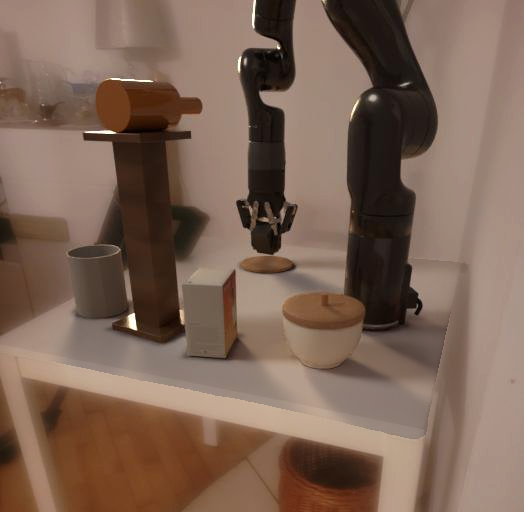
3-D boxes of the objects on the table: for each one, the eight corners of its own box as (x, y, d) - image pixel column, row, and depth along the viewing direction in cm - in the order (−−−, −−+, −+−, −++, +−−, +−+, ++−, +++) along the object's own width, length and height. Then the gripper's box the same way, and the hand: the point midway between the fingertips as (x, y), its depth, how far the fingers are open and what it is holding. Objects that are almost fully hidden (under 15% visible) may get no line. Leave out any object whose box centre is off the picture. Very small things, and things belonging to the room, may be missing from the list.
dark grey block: (258, 220, 103) (250, 233, 102) (275, 222, 101) (266, 235, 100) (265, 240, 108) (257, 252, 106) (281, 242, 106) (273, 255, 104)
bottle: (182, 127, 76) (179, 84, 74) (213, 128, 74) (211, 83, 71) (99, 132, 63) (91, 79, 61) (133, 133, 61) (127, 78, 58)
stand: (155, 308, 84) (136, 129, 71) (202, 320, 79) (191, 130, 67) (112, 329, 76) (82, 132, 63) (161, 343, 71) (139, 134, 59)
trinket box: (366, 378, 62) (373, 309, 58) (282, 377, 62) (283, 308, 58) (354, 341, 72) (359, 280, 67) (281, 341, 72) (281, 280, 68)
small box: (225, 359, 67) (222, 286, 62) (186, 356, 68) (180, 283, 63) (238, 335, 74) (236, 267, 69) (202, 332, 75) (198, 265, 70)
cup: (86, 300, 87) (76, 244, 83) (132, 299, 87) (125, 244, 83) (70, 318, 80) (58, 258, 75) (120, 318, 80) (112, 258, 75)
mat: (288, 257, 112) (288, 254, 111) (296, 271, 102) (296, 269, 102) (240, 259, 111) (239, 256, 110) (243, 273, 101) (243, 271, 101)
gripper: (226, 165, 97) (228, 250, 105) (289, 169, 91) (287, 259, 99) (246, 161, 103) (247, 242, 111) (306, 165, 97) (303, 251, 105)
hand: (266, 250), depth 105 cm, fingers closed on dark grey block, 4 cm apart
